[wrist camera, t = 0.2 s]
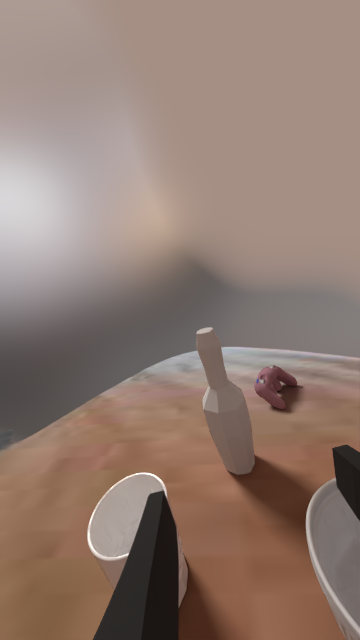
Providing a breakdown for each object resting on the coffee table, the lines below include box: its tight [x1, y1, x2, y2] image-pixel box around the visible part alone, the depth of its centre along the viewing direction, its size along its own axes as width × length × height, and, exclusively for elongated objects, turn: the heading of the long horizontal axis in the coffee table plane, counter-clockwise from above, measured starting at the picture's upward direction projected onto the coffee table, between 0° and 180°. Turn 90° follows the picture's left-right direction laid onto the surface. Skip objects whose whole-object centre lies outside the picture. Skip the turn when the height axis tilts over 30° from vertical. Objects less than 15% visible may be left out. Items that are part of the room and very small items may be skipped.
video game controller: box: [254, 365, 297, 409], centre depth 47 cm, size 10×5×7 cm, turn 139°
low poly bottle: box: [197, 328, 255, 475], centre depth 33 cm, size 6×6×22 cm
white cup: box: [87, 473, 188, 607], centre depth 23 cm, size 8×8×10 cm
